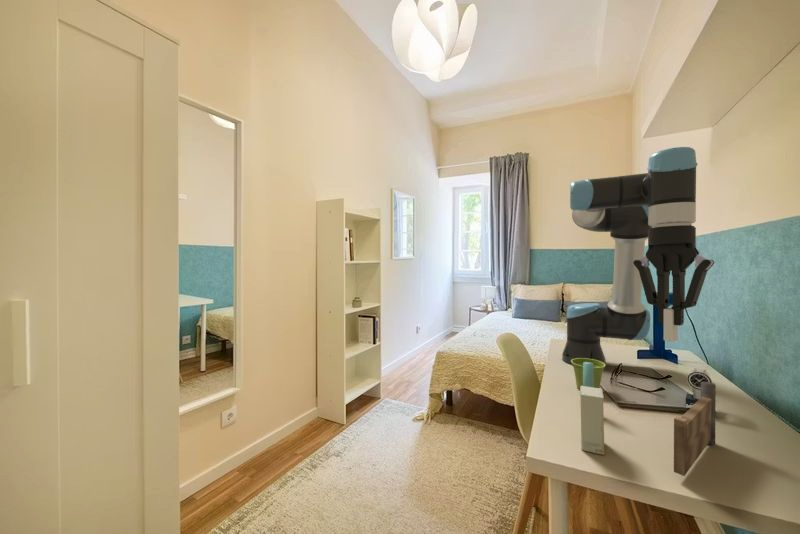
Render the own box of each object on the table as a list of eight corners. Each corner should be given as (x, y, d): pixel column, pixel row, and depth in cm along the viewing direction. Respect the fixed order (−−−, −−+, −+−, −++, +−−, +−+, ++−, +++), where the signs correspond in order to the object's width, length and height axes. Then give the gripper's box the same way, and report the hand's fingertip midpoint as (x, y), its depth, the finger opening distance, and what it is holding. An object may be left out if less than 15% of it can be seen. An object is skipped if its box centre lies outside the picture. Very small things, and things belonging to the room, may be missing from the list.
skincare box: (604, 456, 67) (604, 398, 67) (580, 450, 69) (580, 394, 69) (602, 441, 73) (602, 388, 73) (580, 436, 75) (580, 384, 75)
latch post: (584, 407, 89) (584, 361, 89) (594, 410, 88) (594, 363, 87) (582, 411, 87) (582, 363, 87) (592, 413, 86) (592, 365, 86)
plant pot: (604, 398, 95) (603, 369, 95) (568, 391, 101) (568, 363, 101) (606, 388, 103) (606, 361, 102) (573, 381, 108) (573, 356, 108)
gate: (701, 437, 73) (702, 380, 73) (716, 442, 71) (716, 384, 71) (670, 476, 60) (670, 408, 60) (687, 484, 58) (687, 413, 58)
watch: (684, 411, 86) (684, 371, 86) (687, 402, 92) (687, 364, 92) (713, 418, 82) (714, 376, 82) (715, 408, 88) (715, 368, 88)
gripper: (720, 223, 63) (719, 344, 63) (642, 229, 74) (642, 332, 74) (706, 221, 59) (705, 350, 59) (626, 228, 70) (626, 336, 70)
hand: (670, 340), depth 67 cm, fingers closed
